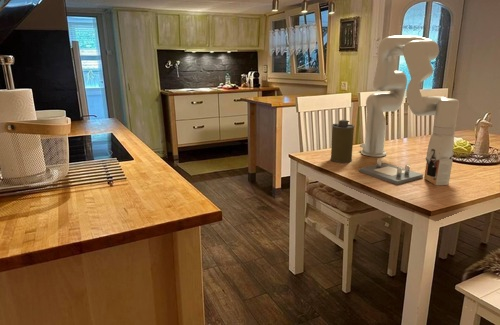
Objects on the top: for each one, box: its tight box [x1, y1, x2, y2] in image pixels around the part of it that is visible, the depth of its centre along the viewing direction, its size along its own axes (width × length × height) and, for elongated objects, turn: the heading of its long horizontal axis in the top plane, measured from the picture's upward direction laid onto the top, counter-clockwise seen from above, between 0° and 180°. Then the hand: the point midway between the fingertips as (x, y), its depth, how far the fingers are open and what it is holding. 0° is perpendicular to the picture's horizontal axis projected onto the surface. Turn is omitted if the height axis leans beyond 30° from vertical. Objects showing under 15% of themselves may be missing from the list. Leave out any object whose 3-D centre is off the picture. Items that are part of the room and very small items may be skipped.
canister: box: [330, 119, 355, 164], centre depth 166 cm, size 11×10×20 cm
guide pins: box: [376, 157, 411, 177], centre depth 146 cm, size 14×7×4 cm, turn 29°
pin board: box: [358, 162, 424, 186], centre depth 146 cm, size 20×16×2 cm
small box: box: [423, 158, 453, 186], centre depth 135 cm, size 8×6×10 cm
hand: (437, 173), depth 136 cm, fingers closed on small box, 7 cm apart
